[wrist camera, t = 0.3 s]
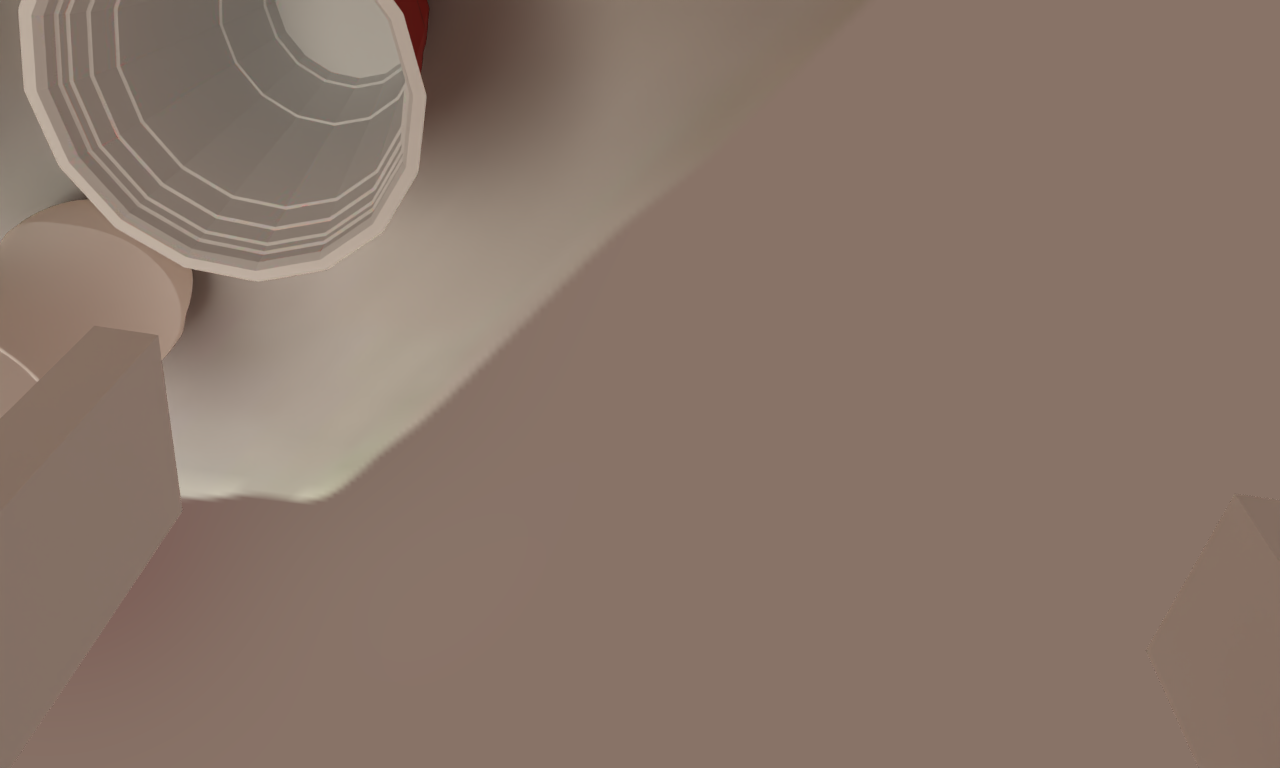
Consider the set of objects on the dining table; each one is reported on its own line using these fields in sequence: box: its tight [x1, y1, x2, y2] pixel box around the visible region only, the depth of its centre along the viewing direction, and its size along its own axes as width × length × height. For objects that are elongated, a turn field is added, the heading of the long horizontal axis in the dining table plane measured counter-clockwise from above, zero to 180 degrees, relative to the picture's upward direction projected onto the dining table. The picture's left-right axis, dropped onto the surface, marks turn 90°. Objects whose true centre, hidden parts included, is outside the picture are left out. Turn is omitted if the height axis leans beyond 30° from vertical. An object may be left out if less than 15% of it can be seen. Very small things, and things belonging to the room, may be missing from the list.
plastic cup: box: [18, 0, 429, 282], centre depth 33 cm, size 11×11×12 cm
